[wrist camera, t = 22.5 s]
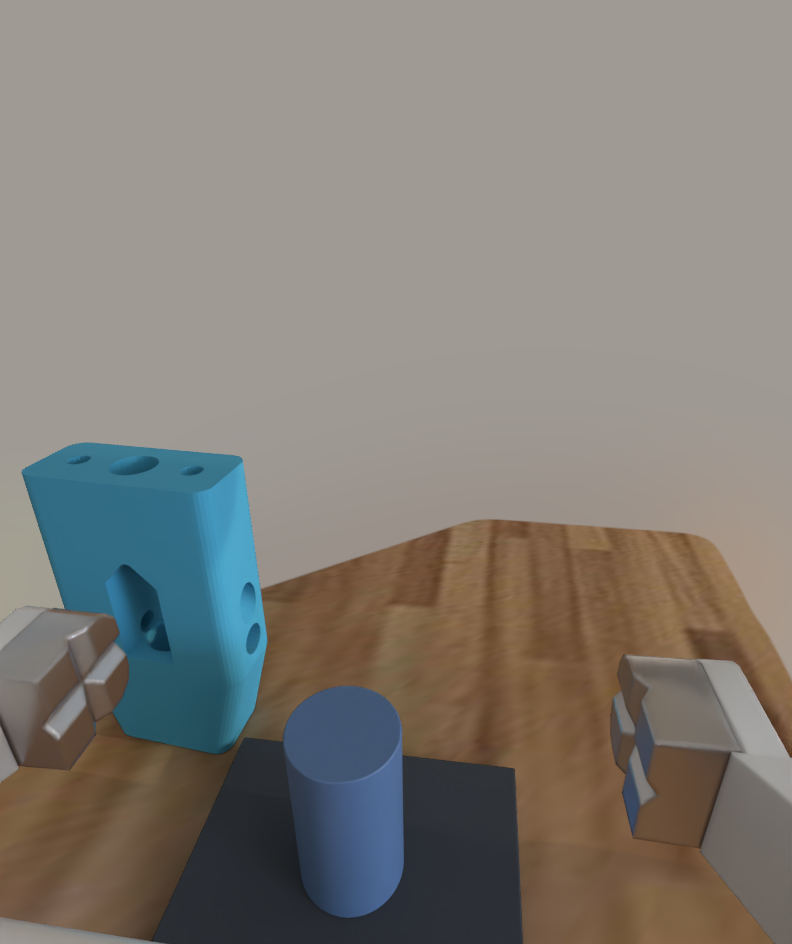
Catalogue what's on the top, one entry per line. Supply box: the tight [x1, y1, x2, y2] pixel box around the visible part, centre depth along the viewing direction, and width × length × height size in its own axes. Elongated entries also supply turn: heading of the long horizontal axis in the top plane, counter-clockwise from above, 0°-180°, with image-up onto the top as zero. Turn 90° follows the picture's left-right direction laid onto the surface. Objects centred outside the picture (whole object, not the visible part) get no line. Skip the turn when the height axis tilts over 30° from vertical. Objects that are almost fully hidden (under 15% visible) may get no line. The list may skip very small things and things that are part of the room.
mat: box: [152, 738, 523, 944], centre depth 32 cm, size 18×14×1 cm
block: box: [22, 443, 267, 754], centre depth 38 cm, size 12×5×20 cm, turn 77°
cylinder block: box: [283, 686, 404, 918], centre depth 29 cm, size 6×6×10 cm
